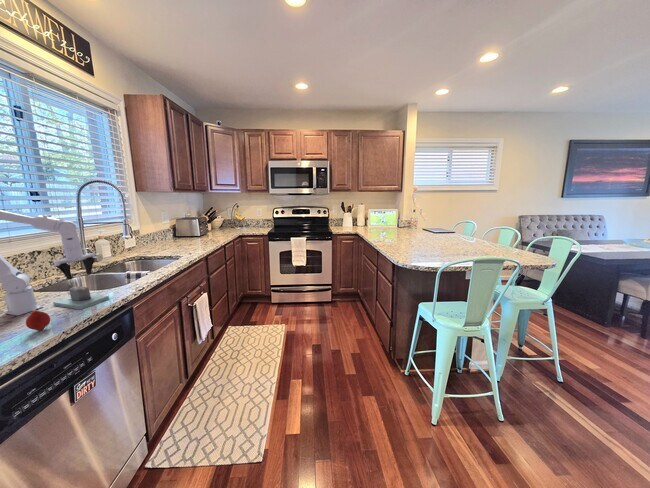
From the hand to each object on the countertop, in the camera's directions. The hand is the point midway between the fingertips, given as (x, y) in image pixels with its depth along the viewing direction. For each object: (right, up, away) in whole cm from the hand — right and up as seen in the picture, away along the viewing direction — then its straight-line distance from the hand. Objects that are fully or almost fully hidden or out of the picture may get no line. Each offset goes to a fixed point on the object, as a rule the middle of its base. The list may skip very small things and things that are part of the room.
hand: (79, 276), depth 120 cm
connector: (+3, -10, -3) cm, 11 cm away
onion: (+12, -16, -27) cm, 34 cm away
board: (+4, -11, -3) cm, 12 cm away
